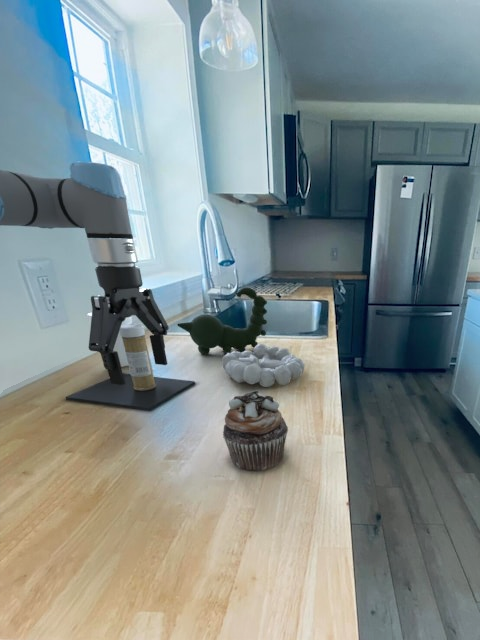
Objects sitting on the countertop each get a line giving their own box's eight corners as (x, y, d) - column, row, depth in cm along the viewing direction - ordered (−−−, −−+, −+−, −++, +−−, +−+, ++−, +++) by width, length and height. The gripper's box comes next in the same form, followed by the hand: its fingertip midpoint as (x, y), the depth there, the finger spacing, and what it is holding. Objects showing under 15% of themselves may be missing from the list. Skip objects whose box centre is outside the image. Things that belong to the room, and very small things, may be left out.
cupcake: (212, 461, 55) (203, 400, 51) (256, 436, 63) (252, 381, 58) (259, 482, 51) (253, 417, 46) (301, 453, 58) (300, 394, 53)
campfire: (324, 373, 93) (324, 350, 90) (269, 398, 77) (268, 372, 75) (260, 358, 104) (258, 337, 101) (200, 378, 88) (197, 354, 85)
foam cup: (93, 366, 95) (78, 314, 89) (121, 357, 102) (109, 308, 96) (122, 370, 92) (108, 317, 86) (148, 360, 100) (138, 311, 94)
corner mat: (66, 399, 75) (65, 396, 75) (122, 375, 89) (121, 373, 89) (149, 411, 71) (149, 408, 71) (195, 383, 85) (195, 381, 84)
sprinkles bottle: (157, 383, 83) (145, 322, 76) (154, 390, 79) (141, 327, 72) (135, 385, 81) (121, 323, 75) (131, 392, 78) (115, 328, 71)
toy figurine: (259, 349, 118) (177, 350, 107) (260, 287, 110) (172, 281, 99) (269, 357, 111) (181, 359, 100) (271, 290, 103) (176, 284, 92)
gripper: (78, 269, 57) (112, 395, 67) (174, 262, 78) (189, 358, 88) (40, 268, 59) (79, 391, 69) (144, 261, 80) (162, 356, 90)
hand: (141, 373), depth 79 cm, fingers open, 13 cm apart
